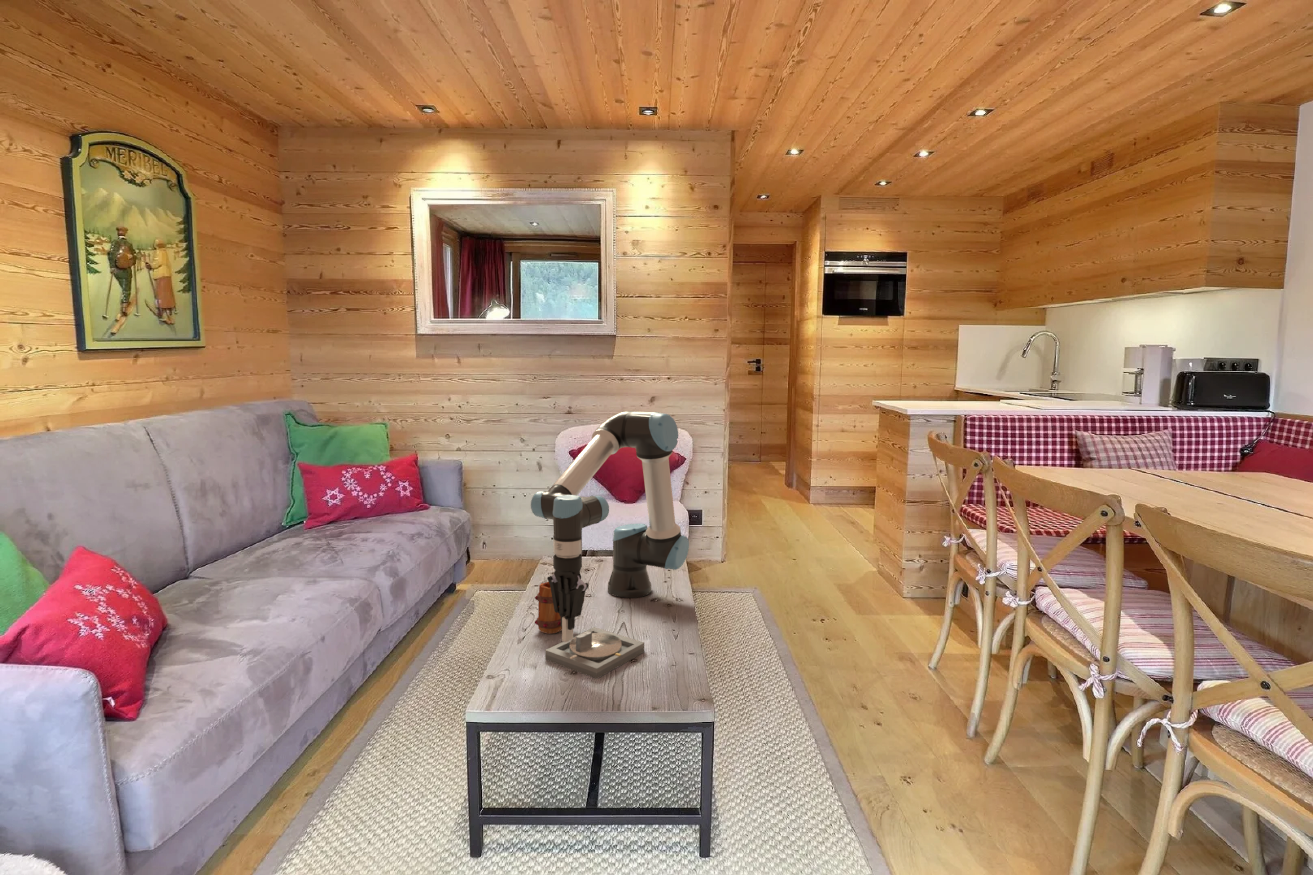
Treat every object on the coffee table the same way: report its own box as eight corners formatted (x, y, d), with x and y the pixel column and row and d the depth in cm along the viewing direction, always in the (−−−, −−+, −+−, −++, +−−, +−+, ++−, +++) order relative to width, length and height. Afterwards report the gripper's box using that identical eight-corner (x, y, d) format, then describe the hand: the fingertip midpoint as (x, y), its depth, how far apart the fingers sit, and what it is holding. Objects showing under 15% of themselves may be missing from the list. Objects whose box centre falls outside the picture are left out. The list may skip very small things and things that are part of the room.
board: (594, 635, 199) (594, 625, 198) (644, 651, 188) (644, 641, 188) (545, 659, 183) (545, 648, 182) (596, 678, 172) (596, 667, 172)
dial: (593, 635, 195) (593, 615, 194) (631, 648, 187) (632, 627, 186) (558, 652, 184) (558, 630, 183) (598, 666, 176) (598, 643, 175)
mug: (536, 637, 197) (535, 587, 195) (533, 627, 205) (533, 578, 203) (586, 633, 201) (586, 583, 199) (582, 622, 209) (582, 574, 207)
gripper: (539, 552, 182) (540, 638, 185) (576, 562, 174) (576, 650, 177) (559, 546, 188) (559, 629, 191) (595, 555, 180) (595, 641, 183)
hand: (567, 639), depth 184 cm, fingers closed
